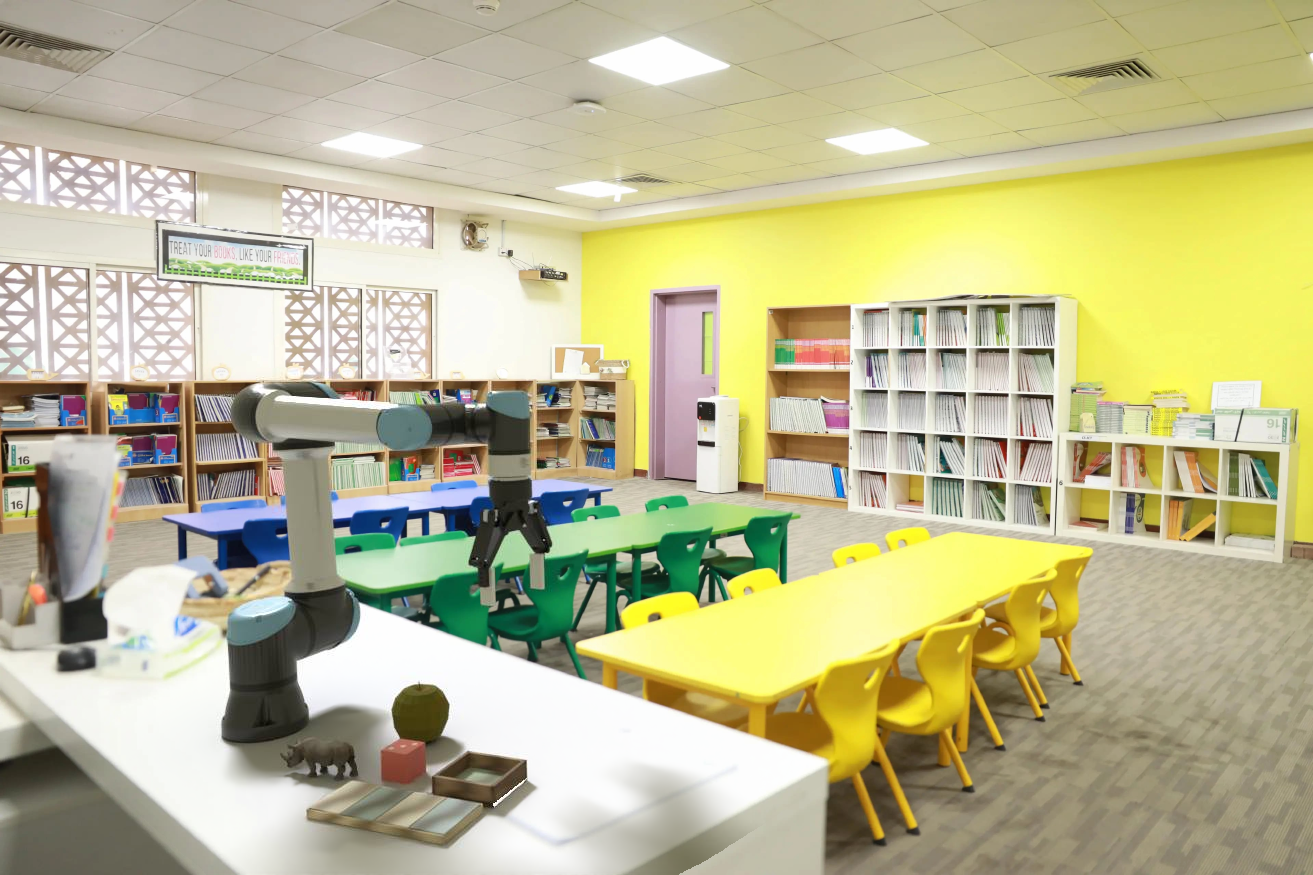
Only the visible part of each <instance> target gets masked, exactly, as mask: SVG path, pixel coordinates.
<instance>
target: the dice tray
mask: <svg viewBox="0 0 1313 875" xmlns="http://www.w3.org/2000/svg"><path fill="white" fill-rule="evenodd" d="M527 762H528V760H527V759H525V758H524V759H523V758H518V757H510V756H504V755H498V754H497V755H496V754H491V753H483V752H478V751H471V750H467V751H466V752H464V753H463V754H461V755H460V756H458V757H457V758H456V759H454V760H453V761H451V762H450V763H449V764H447V765H445V767H443V768H441V769H440V770H439V771H437V772H436V773H435V774H433V775H432V776H431V790H432V792H431V793H432V794H431V795H436V796H442V797H447V798H453V799H459V800H464V801H470V802H476V803H481V804H483V808H484V807H486V808H490V809H495V808H494V806H493V803H495V802H497V800H499V799H500V798H501V797H503V796H504V795H505V794H507V793H508V792H509V791H510V790H512V789H513V788H514V787H515V786H517V785H518V784H519V783H521V782H522V781H523V780H525V779H526V778H527V779H528V763H527Z"/></svg>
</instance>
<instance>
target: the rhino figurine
mask: <svg viewBox="0 0 1313 875" xmlns="http://www.w3.org/2000/svg"><path fill="white" fill-rule="evenodd" d="M287 748H288V749H289V750H292V752H290V751H287V752H286V753H287V755H284V754H283V753H282V752H280V753H279V754H280V755H279V756H280V757H281V759H283V761H285V762H286V766H287V767H288V769H292V768H295V767H297V766H299V765H300V764H302V763H303V761H305V762H306V765H307V766H308V768H309V772H308V774H307V775H306V777H307V778H308V779H312V778H315V777H317V775H318V773H317V764H318V765H319V766H320V769H319V773H325V772H327V771H328V770H329V767H331V766H335V767H336V768H337V772H336V774H335V775H334V776H333V780H334V781H336V782H339V781H342V780H344V779H345V774H344V773H345V772H346V771H347V767H346V765H347V764H348V765H349V767H350V768H351V771H350V772H349V776H350V777H357V776H358V775H359V773H360V772H359V770H358V763H357V762H356V755H355V749H354V747H353V745H352V744H351V743H350V742H348V741H345V740H337V739H332V740H328V741H326V740H321V739H319V738H316V737H309V738H305V739H304V740H303V741H300V739H296V741H295V744H294V745H292V744H287Z"/></svg>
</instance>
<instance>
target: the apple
mask: <svg viewBox="0 0 1313 875" xmlns="http://www.w3.org/2000/svg"><path fill="white" fill-rule="evenodd" d="M450 707H451V706H450V702H449V701H448V699H447V697H446V694H445V692H444V691H443V690H442V689H441V688H440V687H438V686H437V685H435V684H428V683H427V684H425V683H421V682H420V681H418V683H416V684H412V685H409V686H405V687H404V688H403V689H402V690H400V692H399V693H398V694H397V695H396V696H395V698H394V700H393V703H392V706H391V715H392V716H391V717H392V723H393V728H394V730H395V732H396V733H397V735H398V737H399V739H407V740H413V741H420V742H425V744H426V743H430V742H432V741H434V740H436V739H438V738H439V737H441V736H442V735H443V732H444V730H445V728H446V725H447V723H448V720H449V716H450Z"/></svg>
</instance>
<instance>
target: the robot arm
mask: <svg viewBox="0 0 1313 875" xmlns="http://www.w3.org/2000/svg"><path fill="white" fill-rule="evenodd" d="M229 411H230V412H229V413H230V420H231V424H232V426H233V428H234V430H235V431H236V432H237V433H238V434H239V435H240V436H241V437H242V438H244V439H246V440H248V441H250V442H253V443H257V444H271V445H272V453H274V454H275V455H276V456H277V457H279V458H280V459H281V464H282V475H283V486H284V487H283V488H284V500H285V514H286V515H285V516H286V523H287V524H286V526H287V538H288V539H287V540H288V549H289V551H288V552H289V564H290V565H289V566H290V577H291V579H290V581H289V582H288V583H287V584H286V586H284V587H283V592H284V593H283V594H284V596H279V595H277V596H276V595H275V596H267V597H264V598H258V599H254V600H251V601H247V602H245V603H243V604H241V605H239V606H237V607H236V608H234V609H232V611H231V612H230V613H229V615H228V617H227V621H226V623H227V624H226V626H227V627H226V629H227V630H226V634H225V637H226V643H227V656H228V675H229V677H228V678H229V695H228V696H227V697H228V698H227V702H226V705H225V711H224V715H223V716H222V717H221V721H220V722H221V724H220V726H221V727H220V728H221V730H220V731H221V737H223V738H224V739H226V740H228V741H231V742H238V743H239V742H241V743H252V742H256V743H257V742H263V741H269V740H275V739H278V738H283V737H285V736H289V735H291V734H293V733H296V732H299V731H300V730H301V729H303V728H304V727H306V726H307V725H308V724H309V722H310V710H309V705H308V703H307V702H306V701H305V696H304V694H303V691H302V689H301V686H300V683H299V680H298V661H301V660H304V659H307V658H309V657H311V656H314V655H318V654H320V653H322V652H325V651H331V650H333V649H336V648H337V647H339V646H340V645H342V644H344V643H347V642H348V641H349V640H350V639H351V638H352V637H354V634H355V633H356V632H357V630H358V628H359V625H360V622H361V607H360V603H359V600H358V598H357V597H355V593H354V592H353V590H351V589H349V588H348V587H347V582H346V579H344V578H343V577H341V576H340V575H339V574H338V570H337V558H336V555H337V554H336V544H335V530H334V515H333V505H332V503H333V502H332V490H331V478H330V477H331V476H330V464H329V456H330V454H331V453H332V452H333V451H334V449H335V448H336V443H344V444H345V443H346V444H355V445H356V444H357V445H370V446H381V447H387V448H389V449H390V450H393V451H399V452H400V451H402V452H413V451H416V450H420V449H421V450H422V449H429V448H439V447H448V446H457V445H487V461H488V462H487V471H488V472H487V473H488V476H489V478H491V479H489V481H488V494H489V496H488V497H489V500H490V501H491V502H492V503H493V508H492V509H483V508H482V509H481V510H480V511H479V523H478V524H479V525H478V527H477V531H476V535H475V537H474V540H473V544H472V547H471V550H470V554H469V557H468V558H469V559H468V561H467V562H468V564H467V565H468V566H469V567H473V568H475V569H477V578H478V580H477V581H478V582H477V583H478V587H479V591H480V597H479V598H480V606H487V607H495V606H496V605H497V604H496V598H497V597H496V576H495V575H496V573H495V572H496V570H495V567H492V565H493V563H494V561H495V559H496V557H497V554H498V552H499V550H500V548H501V546H502V544H503V542H504V539H505V537H506V536H508V535H509V533H510V532H514V531H516V530H518V531H519V532H520V534H521V535H522V537H523V538H524V540H525V542H526V543H527V545H528V546H529V547H530V549H531V550H532V552H530V553H529V581H530V582H529V583H530V589H534V590H545V589H546V588H545V586H546V585H545V568H546V559H545V557H546V556H545V555H546V554H549V553H550V552H551V548H552V547H553V541H552V538H551V536H550V533H549V530H548V527H547V525H546V521H545V519H544V516H543V513H542V508H541V501H539V500H531V499H532V498H533V482H532V481H533V480H532V479H531V478H529V477H530V476H531V475H532V459H531V458H532V456H531V452H532V451H531V450H532V449H531V417H532V414H531V409H530V397H529V395H528V392H526V391H524V390H496V391H495V390H494V391H493V390H489V391H488V392H487V394H486V398H485V401H483V402H482V401H481V402H472V401H471V402H468V401H467V402H466V401H465V402H464V401H461V402H459V401H444V402H438V403H422V404H421V403H419V404H418V403H416V404H415V403H414V404H413V403H400V402H397V403H396V402H395V403H394V402H393V403H392V402H382V401H367V400H366V401H365V400H352V399H350V400H349V399H342V398H341V397H340V395H339V394H338V392H336V391H335V390H334V389H333V388H332V387H330V386H329V385H327V384H325V383H322V382H316V381H315V382H313V381H283V382H282V381H280V382H268V381H267V382H256V383H254V384H250V385H248V386H246V387H245V388H242V390H240V391H239V392H238V393H237V394H236V396H235V397H234V399H233V401H232V402H231V405H230V410H229Z"/></svg>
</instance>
